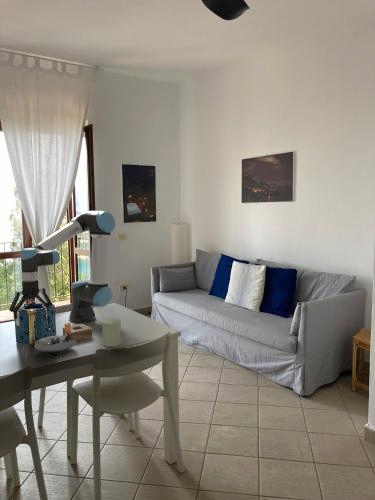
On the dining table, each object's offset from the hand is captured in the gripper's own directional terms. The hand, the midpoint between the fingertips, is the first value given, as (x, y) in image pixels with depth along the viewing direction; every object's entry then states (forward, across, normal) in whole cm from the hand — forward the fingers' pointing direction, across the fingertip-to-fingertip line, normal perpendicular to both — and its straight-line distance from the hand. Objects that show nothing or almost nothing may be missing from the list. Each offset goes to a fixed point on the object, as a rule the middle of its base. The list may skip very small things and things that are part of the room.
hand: (31, 322), depth 201 cm
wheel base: (+11, +4, -18) cm, 21 cm away
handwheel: (+7, +4, -18) cm, 20 cm away
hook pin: (+11, 0, 0) cm, 11 cm away
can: (+11, +30, -25) cm, 41 cm away
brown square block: (+11, +21, -6) cm, 24 cm away
